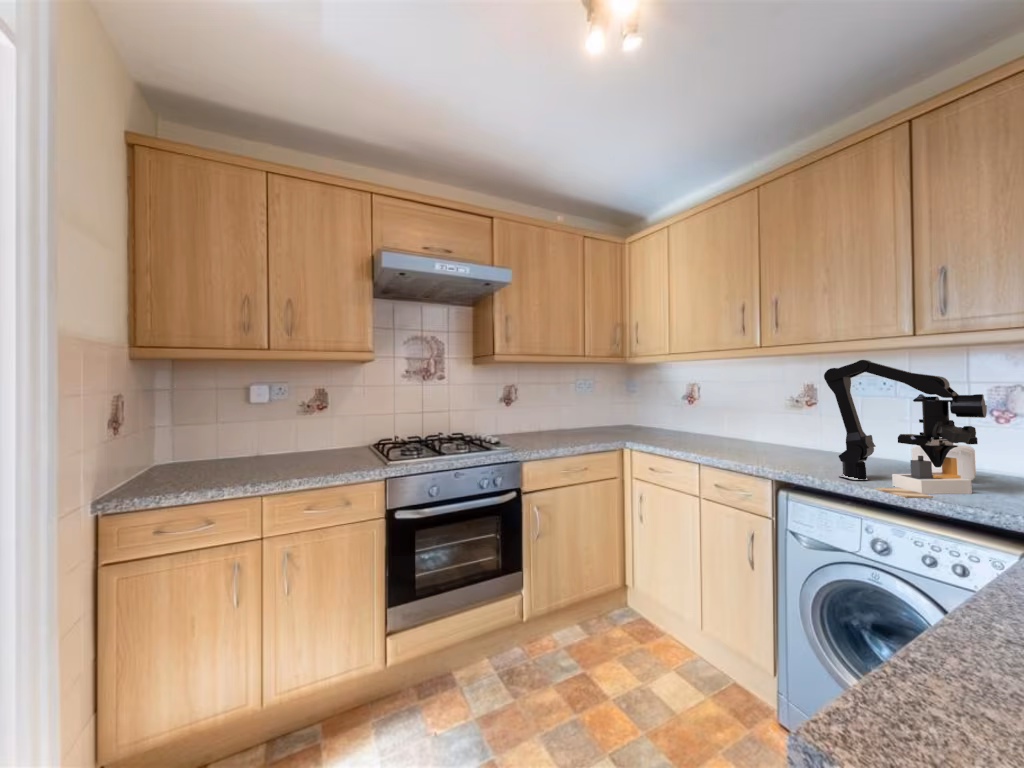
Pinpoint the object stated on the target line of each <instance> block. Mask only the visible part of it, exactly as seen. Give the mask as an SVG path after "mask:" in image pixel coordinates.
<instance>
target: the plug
mask: <svg viewBox="0 0 1024 768" xmlns="http://www.w3.org/2000/svg"><path fill="white" fill-rule="evenodd" d="M910 474H911V475H901V476H906V477H910V478H915V479H941V478H933V477H932V463H931V461H926V460H923V456H918V460H912V459H910Z"/></svg>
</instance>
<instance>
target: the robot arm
mask: <svg viewBox="0 0 1024 768" xmlns="http://www.w3.org/2000/svg"><path fill="white" fill-rule="evenodd" d="M864 373H867V374H872V375H874V376H879V377H882V378H884V379H888V380H891V381H895V382H898V383H903V384H905V385H906V386H909V387H911V388H913V389H915V390H917V391H919V392H921V393H920V394H918V396H917V397H915V398H914V399H912V401H913V402H914V403H921V405H922V406H921V407H922V418H921V419H918V422H919V423H920V424H922V432H921V431H920V432H919V434H913V433H900V434H899V435H897V444H905V445H912V446H916V445H918V446H920V447H921V448H922V449H923V450H924V452H925V453H926V454H927V456H928V457H929V459H930V460H931V462H932V463H933V465H934V466H935V467H941V466H942V464H943V461H944V459H945V457H946V455H947V453H948V452H949V451H950V450H951V449H953V448H955V447H958V446H957V445H953V444H960V443H962V444H965V445H978V443H979V442H978V437H976V436H977V431H976V430H977V429H976V427H975V426H973V425H965V426H962V427H961V426H956V424H955V421H954V420H953V419H950V413H951V414H952V415H955V416H956V418H981V419H983V418H987V409H988V407H987V405H986V401H985V396H984V394H983V393H982V394H980V393H979V394H958V392H957V391H955V390H954V389H953V388H952V387H951V385H950V382H949V380H948V379H947V378H946V377H944V376H939V375H932V374H923V373H915V372H911V371H907V370H903V369H900V368H896V367H891V366H887V365H885V364H882V363H876V362H874V361H872V360H869V359H859V360H858V361H856V362H852V363H850V364H847V365H844V366H840V367H831V368H828V369H826V371H825V372H824V374H823V378H824V381H825V382H826V385H828V387H829V389H830V390H831V391H832V392H833V394H834V396H835V399H836V403H837V407H838V409H839V412H840V414H841V415H840V416H841V419H842V423H843V425H844V429H845V431H846V434H845V435H846V436H845V449H846V450H844V451H842V452H841V453H839V454H838V458H839V460H840V462H842V475H843V474H844V475H845V476H848V477H854V478H858V479H866V478H867V467H866V461H867V460H868V458H869V457H870V456H871V455H872V454H873V453H874V452H875V447H876V444H874V439H873V435H871V434H869V435H867V434H866V433H865V432H864V430H863V428H862V425H861V422H860V419H859V415H858V412H857V409H856V406H855V403H854V399H853V397H852V393H851V386H852V378H854V377H857V376H859V375H861V374H864ZM922 393H923V394H922ZM924 394H926V395H937V396H926V395H924ZM940 398H943V399H940ZM944 398H945V399H944ZM949 411H950V412H949Z"/></svg>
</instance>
